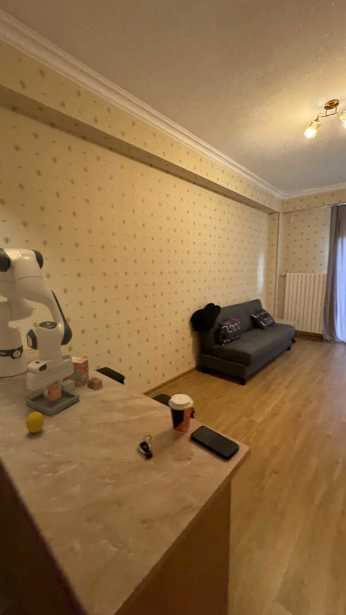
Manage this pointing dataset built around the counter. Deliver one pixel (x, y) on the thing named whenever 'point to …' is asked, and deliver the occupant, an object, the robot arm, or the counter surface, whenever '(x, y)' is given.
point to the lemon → (35, 422)
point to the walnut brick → (94, 383)
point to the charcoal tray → (52, 403)
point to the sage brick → (68, 385)
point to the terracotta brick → (53, 392)
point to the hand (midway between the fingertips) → (52, 391)
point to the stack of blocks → (79, 371)
